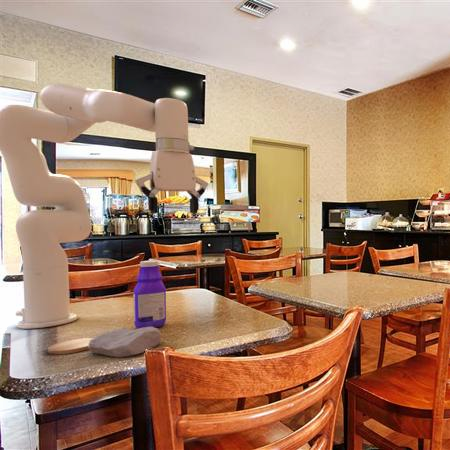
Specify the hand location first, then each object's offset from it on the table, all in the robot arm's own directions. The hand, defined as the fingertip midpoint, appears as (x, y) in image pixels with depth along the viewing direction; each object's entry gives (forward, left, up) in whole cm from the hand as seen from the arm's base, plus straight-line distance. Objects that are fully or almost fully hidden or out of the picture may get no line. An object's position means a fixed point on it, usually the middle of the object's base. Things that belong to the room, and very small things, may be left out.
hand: (174, 213), depth 107 cm
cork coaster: (-12, -18, -30) cm, 37 cm away
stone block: (+1, -19, -30) cm, 36 cm away
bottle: (-7, -1, -30) cm, 31 cm away
